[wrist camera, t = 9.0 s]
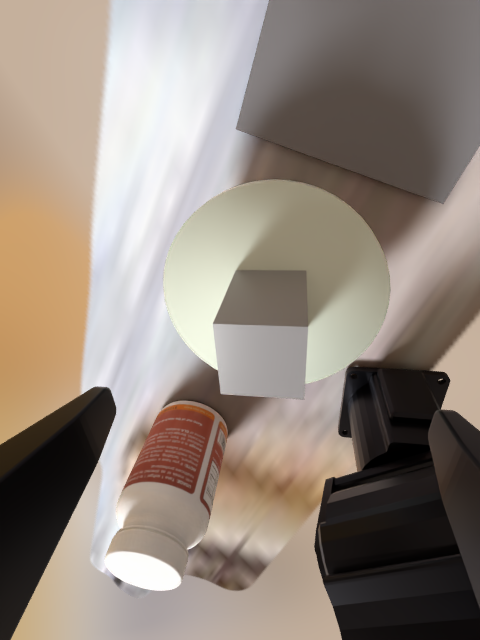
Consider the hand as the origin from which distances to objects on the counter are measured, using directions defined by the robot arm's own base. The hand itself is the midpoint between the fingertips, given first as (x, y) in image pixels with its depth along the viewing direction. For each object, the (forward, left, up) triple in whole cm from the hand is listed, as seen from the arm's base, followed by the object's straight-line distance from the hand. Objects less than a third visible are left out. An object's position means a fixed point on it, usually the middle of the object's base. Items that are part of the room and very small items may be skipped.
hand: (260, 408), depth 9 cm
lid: (0, 0, -8) cm, 8 cm away
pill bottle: (-15, +7, -13) cm, 21 cm away
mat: (+10, -5, -12) cm, 17 cm away
